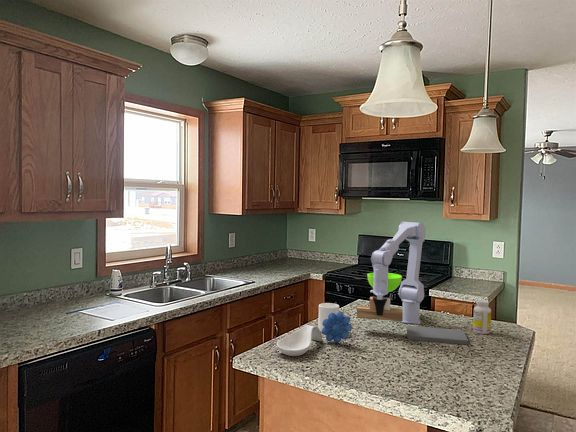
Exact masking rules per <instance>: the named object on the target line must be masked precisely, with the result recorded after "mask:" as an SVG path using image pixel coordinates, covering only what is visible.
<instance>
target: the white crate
mask: <svg viewBox="0 0 576 432" xmlns="http://www.w3.org/2000/svg"><path fill="white" fill-rule="evenodd" d="M383 299H387V301H386V303H385V306H384V310H390V308H391V298H390V297H387V298H383Z"/></svg>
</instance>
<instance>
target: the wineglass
mask: <svg viewBox="0 0 576 432" xmlns="http://www.w3.org/2000/svg"><path fill="white" fill-rule="evenodd" d="M402 279H403V276H402V275H401V274H397V273H392V272H388V293H390V292H393V291H395V290H396V289H397V288H399V286H401V282H402ZM373 280H374V272H370V273H367V281H368V284H369V285H370V286H371V287H372V288H373Z"/></svg>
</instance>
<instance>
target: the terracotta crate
mask: <svg viewBox="0 0 576 432" xmlns="http://www.w3.org/2000/svg"><path fill="white" fill-rule="evenodd" d="M373 297H374V296H370V297H369V306H370V309H376V307H375V303H374V301H373Z"/></svg>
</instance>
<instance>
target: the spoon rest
mask: <svg viewBox="0 0 576 432" xmlns="http://www.w3.org/2000/svg"><path fill="white" fill-rule="evenodd" d="M312 340H313V341H317V342H322V341H323V334H322V332H321V331H320V330H319V328H318V326H315V325H310V324H305V325H303V326H301V327H300V328H299V329H297V330H295V331H294V332H292V333H289V334H288V335H285V337H282V338H281V339H279V340H277V342H276V346H277V349H278V350H279V351H280V352H281V353H282V354H283V355H285V356H290V357H300V356H303V354H306V353H307V352H308V351H309V349H310V347H311V345H312Z"/></svg>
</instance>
